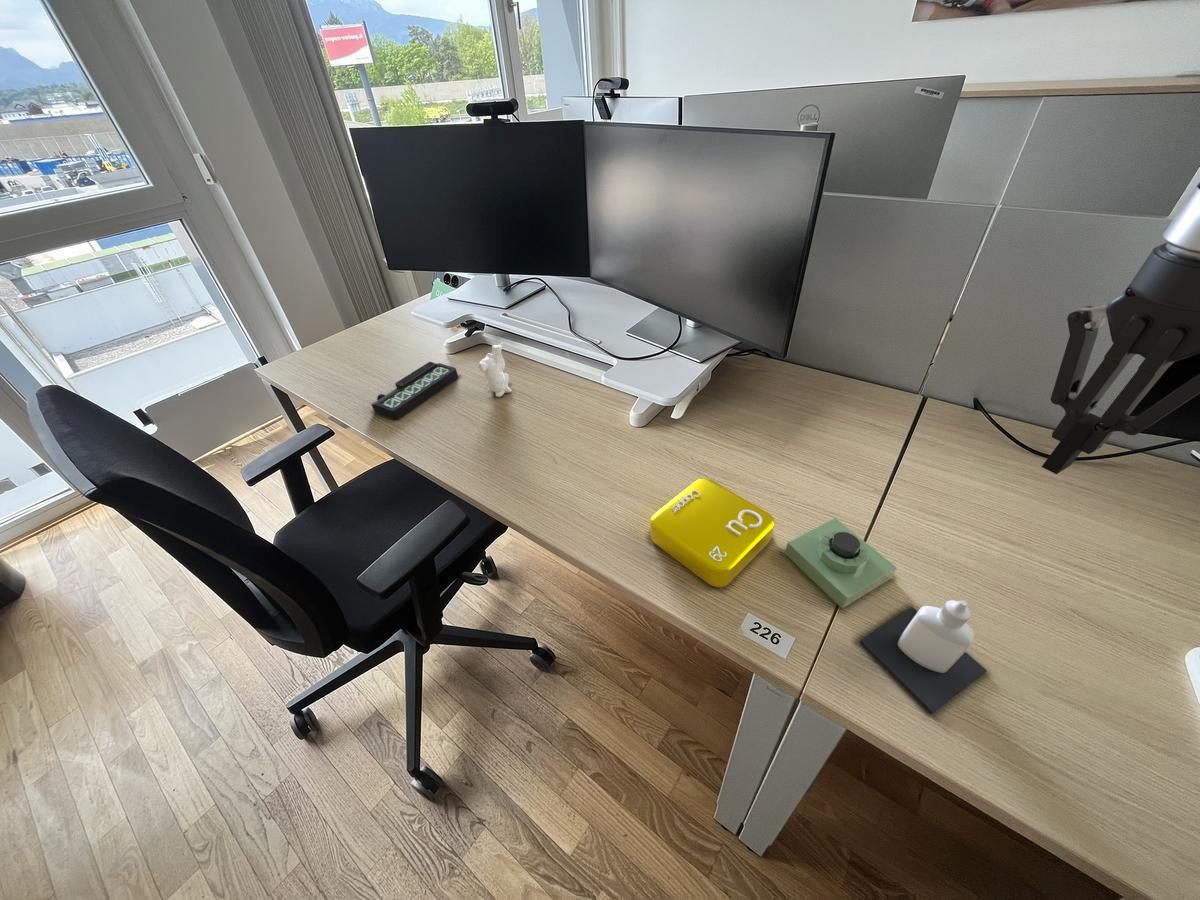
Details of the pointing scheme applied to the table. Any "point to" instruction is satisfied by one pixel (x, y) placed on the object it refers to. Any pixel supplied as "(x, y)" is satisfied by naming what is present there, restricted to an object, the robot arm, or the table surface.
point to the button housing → (839, 564)
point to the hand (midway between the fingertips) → (1055, 466)
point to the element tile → (712, 531)
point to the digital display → (415, 389)
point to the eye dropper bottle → (938, 635)
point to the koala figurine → (495, 371)
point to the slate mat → (919, 666)
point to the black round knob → (845, 545)
